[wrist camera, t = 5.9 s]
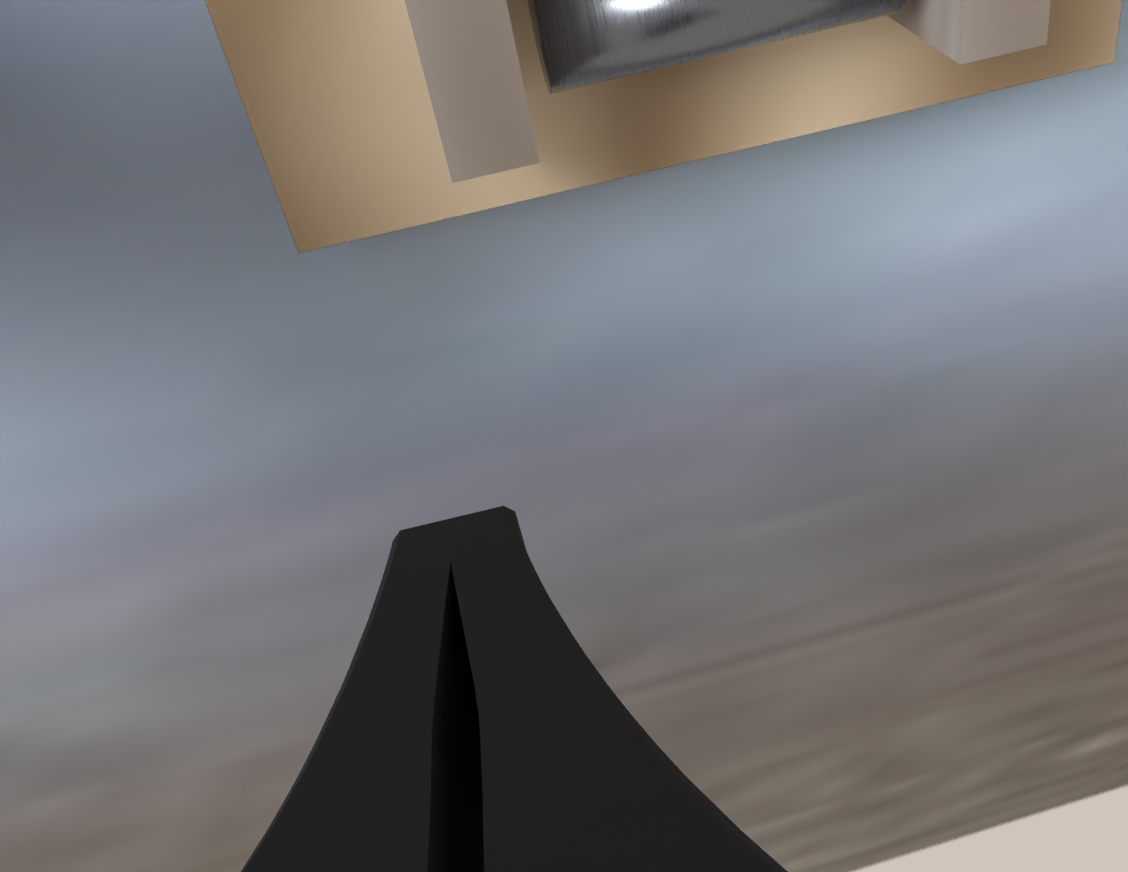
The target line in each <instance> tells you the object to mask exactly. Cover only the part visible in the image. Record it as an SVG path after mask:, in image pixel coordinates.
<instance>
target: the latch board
mask: <svg viewBox="0 0 1128 872" xmlns="http://www.w3.org/2000/svg"><path fill="white" fill-rule="evenodd" d="M205 3H206V5H207V8H208V11H209V14H210V16H211V19H212V22H213V24H214V27H215V30H216V32H217V35H218V38H219V40H220V43H221V46H222V49H223V51H224V54H225V57H226V59H227V62H228V65H229V67H230V70H231V73H232V76H233V78H234V81H235V84H236V86H237V89H238V92H239V94H240V97H241V100H242V102H243V105H244V108H245V111H246V113H247V116H248V119H249V121H250V124H251V127H252V129H253V132H254V135H255V138H256V140H257V143H258V146H259V148H260V151H261V154H262V156H263V159H264V162H265V164H266V167H267V170H268V173H269V175H270V178H271V181H272V183H273V186H274V189H275V191H276V194H277V197H278V200H279V202H280V205H281V208H282V210H283V213H284V216H285V218H286V221H287V224H288V227H289V229H290V232H291V235H292V237H293V240H294V243H295V245H296V248H297V251H298V253H302V252H306V251H311V250H315V249H319V248H324V247H328V246H332V245H336V244H341V243H345V242H349V241H353V240H358V239H362V238H366V237H371V236H375V235H379V234H383V233H388V232H392V231H396V230H400V229H405V228H409V227H413V226H418V225H422V224H426V223H430V222H435V221H439V220H443V219H447V218H452V217H456V216H460V215H465V214H469V213H473V212H477V211H482V210H486V209H490V208H494V207H499V206H503V205H507V204H512V203H516V202H520V201H524V200H529V199H533V198H537V197H542V196H546V195H550V194H554V193H559V192H563V191H567V190H571V189H576V188H580V187H584V186H589V185H593V184H597V183H601V182H606V181H610V180H614V179H618V178H623V177H627V176H631V175H636V174H640V173H644V172H648V171H653V170H657V169H661V168H665V167H670V166H674V165H678V164H683V163H687V162H691V161H695V160H700V159H704V158H708V157H713V156H717V155H721V154H725V153H730V152H734V151H738V150H742V149H747V148H751V147H755V146H760V145H764V144H768V143H772V142H777V141H781V140H785V139H789V138H794V137H798V136H802V135H807V134H811V133H815V132H819V131H824V130H828V129H832V128H836V127H841V126H845V125H849V124H854V123H858V122H862V121H866V120H871V119H875V118H879V117H883V116H888V115H892V114H896V113H901V112H905V111H909V110H913V109H918V108H922V107H926V106H931V105H935V104H939V103H943V102H948V101H952V100H956V99H960V98H965V97H969V96H973V95H978V94H982V93H986V92H990V91H995V90H999V89H1003V88H1007V87H1012V86H1016V85H1020V84H1025V83H1029V82H1033V81H1037V80H1042V79H1046V78H1050V77H1054V76H1059V75H1063V74H1067V73H1072V72H1076V71H1080V70H1084V69H1089V68H1093V67H1097V66H1101V65H1106V64H1110V63H1114V58H1115V50H1116V43H1117V35H1118V27H1119V19H1120V12H1121V4H1122V0H906V2H905V4H904V6H903V8H902V9H901V10H900V11H899V12H898V13H896V14H892V15H888V16H883V17H879V18H875V19H870V20H866V21H862V22H857V23H853V24H849V25H845V26H840V27H836V28H832V29H827V30H823V31H819V32H815V33H810V34H806V35H802V36H797V37H793V38H789V39H785V40H780V41H776V42H772V43H767V44H763V45H759V46H755V47H750V48H746V49H742V50H737V51H733V52H729V53H725V54H720V55H716V56H712V57H707V58H703V59H699V60H695V61H690V62H686V63H682V64H677V65H673V66H669V67H665V68H660V69H656V70H652V71H647V72H643V73H639V74H634V75H630V76H626V77H622V78H617V79H613V80H609V81H604V82H600V83H596V84H592V85H587V86H583V87H579V88H574V89H570V90H566V91H562V92H557V93H553V94H550V93H549V91H548V89H547V85H546V82H545V79H544V75H543V71H542V68H541V64H540V59H539V55H538V51H537V47H536V42H535V37H534V33H533V28H532V23H531V18H530V13H529V7H528V1H527V0H205Z"/></svg>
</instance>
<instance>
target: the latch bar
mask: <svg viewBox="0 0 1128 872" xmlns="http://www.w3.org/2000/svg"><path fill="white" fill-rule="evenodd" d="M527 1H528V7H529V13H530V18H531V23H532V28H533V33H534V37H535V42H536V47H537V51H538V55H539V59H540V64H541V68H542V71H543V75H544V79H545V82H546V85H547V89H548V91H549V93H550V94H553V93H557V92H562V91H566V90H570V89H574V88H579V87H583V86H587V85H592V84H596V83H600V82H604V81H609V80H613V79H617V78H622V77H626V76H630V75H634V74H639V73H643V72H647V71H652V70H656V69H660V68H665V67H669V66H673V65H677V64H682V63H686V62H690V61H695V60H699V59H703V58H707V57H712V56H716V55H720V54H725V53H729V52H733V51H737V50H742V49H746V48H750V47H755V46H759V45H763V44H767V43H772V42H776V41H780V40H785V39H789V38H793V37H797V36H802V35H806V34H810V33H815V32H819V31H823V30H827V29H832V28H836V27H840V26H845V25H849V24H853V23H857V22H862V21H866V20H870V19H875V18H879V17H883V16H888V15H892V14H896V13H898V12H899V11H900V10H901V9H902V8H903V6H904V4H905V2H906V0H527Z"/></svg>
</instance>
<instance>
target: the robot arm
mask: <svg viewBox="0 0 1128 872" xmlns="http://www.w3.org/2000/svg"><path fill="white" fill-rule="evenodd" d="M241 872H788V871H786V870H785V869H784V868H783V867H782V866H781V865H779V864H778V863H777V862H776V861H775V860H774V859H773V858H771V857H770V856H769V855H768V854H767V853H766V852H765V851H764V850H762V849H761V848H760V847H759V846H758V845H757V844H756V843H755V842H753V841H752V840H751V839H750V838H749V837H748V836H747V835H745V834H744V833H743V832H742V831H741V830H740V829H739V828H738V827H737V826H736V825H735V824H734V823H733V822H732V821H731V820H730V819H729V818H728V817H727V816H726V815H725V814H724V813H723V812H722V811H721V810H720V809H719V808H718V807H717V806H716V805H715V804H714V803H713V802H712V801H710V800H709V799H708V798H707V797H706V796H705V795H704V794H703V793H702V792H701V791H700V790H699V789H698V788H697V787H696V786H695V785H694V784H693V783H692V782H691V781H690V780H689V779H688V778H687V777H686V776H685V775H684V774H683V773H682V772H681V771H680V770H679V769H678V767H677V766H676V765H675V764H674V763H673V762H672V761H671V760H670V759H669V758H668V756H667V755H666V754H665V753H664V752H663V751H662V750H661V749H660V748H659V747H658V745H657V744H656V743H655V742H654V741H653V740H652V739H651V738H650V736H649V735H648V734H647V733H646V732H645V730H644V729H643V728H642V727H641V726H640V725H639V723H638V722H637V721H636V720H635V719H634V718H633V716H632V715H631V714H630V713H629V711H628V710H627V709H626V708H625V706H624V705H623V704H622V703H621V701H620V700H619V699H618V698H617V696H616V695H615V694H614V692H613V691H612V690H611V689H610V687H609V686H608V685H607V683H606V682H605V681H604V679H603V678H602V677H601V675H600V674H599V672H598V671H597V670H596V668H595V667H594V665H593V664H592V663H591V661H590V660H589V659H588V657H587V656H586V654H585V653H584V651H583V650H582V648H581V647H580V645H579V644H578V643H577V641H576V640H575V638H574V637H573V635H572V634H571V632H570V630H569V629H568V627H567V625H566V624H565V622H564V620H563V619H562V617H561V616H560V614H559V612H558V611H557V609H556V607H555V606H554V604H553V603H552V601H551V599H550V598H549V596H548V594H547V592H546V590H545V588H544V587H543V585H542V583H541V581H540V579H539V577H538V575H537V573H536V571H535V569H534V567H533V565H532V563H531V561H530V558H529V556H528V554H527V551H526V548H525V545H524V541H523V538H522V534H521V531H520V527H519V523H518V520H517V516H516V513H515V511H513V510H511V509H509V508H507V507H505V506H501V507H497V508H493V509H489V510H485V511H480V512H476V513H472V514H468V515H464V516H459V517H455V518H451V519H447V520H443V521H438V522H434V523H430V524H426V525H422V526H417V527H413V528H409V529H405V530H401V531H400V532H399V533H398V534H397V536H396V537H395V539H394V540H393V543H392V547H391V551H390V554H389V558H388V561H387V565H386V568H385V571H384V575H383V578H382V581H381V584H380V587H379V590H378V593H377V596H376V599H375V602H374V605H373V607H372V610H371V613H370V616H369V619H368V622H367V624H366V627H365V630H364V632H363V635H362V637H361V640H360V642H359V645H358V647H357V650H356V652H355V655H354V657H353V660H352V662H351V665H350V667H349V670H348V672H347V675H346V677H345V679H344V682H343V684H342V686H341V689H340V691H339V693H338V695H337V697H336V699H335V702H334V704H333V706H332V708H331V710H330V712H329V714H328V717H327V719H326V721H325V723H324V725H323V727H322V729H321V732H320V734H319V736H318V738H317V740H316V742H315V744H314V746H313V748H312V750H311V752H310V754H309V756H308V758H307V760H306V762H305V764H304V766H303V768H302V770H301V771H300V773H299V775H298V777H297V779H296V781H295V783H294V784H293V786H292V788H291V790H290V792H289V794H288V795H287V797H286V799H285V801H284V802H283V804H282V806H281V807H280V809H279V811H278V813H277V814H276V816H275V818H274V820H273V821H272V823H271V825H270V826H269V828H268V830H267V831H266V833H265V835H264V836H263V838H262V839H261V841H260V843H259V844H258V846H257V847H256V849H255V850H254V852H253V854H252V855H251V857H250V858H249V860H248V861H247V863H246V865H245V866H244V868H243V869H242V871H241Z"/></svg>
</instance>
